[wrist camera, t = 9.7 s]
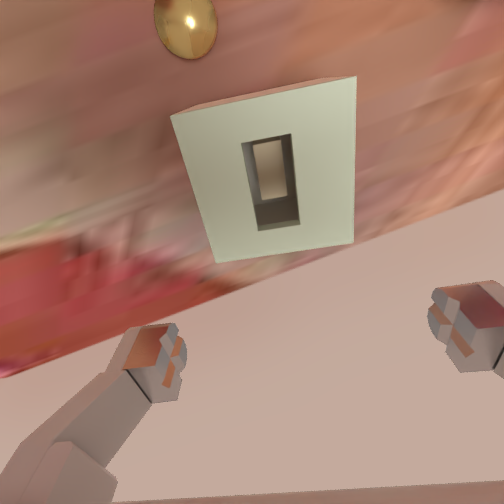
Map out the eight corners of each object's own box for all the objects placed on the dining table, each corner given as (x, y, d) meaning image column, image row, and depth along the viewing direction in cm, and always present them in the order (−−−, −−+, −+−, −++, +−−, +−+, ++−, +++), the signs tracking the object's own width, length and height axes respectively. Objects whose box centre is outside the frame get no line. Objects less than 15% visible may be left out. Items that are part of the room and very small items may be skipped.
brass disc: (150, -9, 22) (144, -14, 21) (209, -23, 22) (206, -30, 20) (170, 64, 25) (166, 63, 23) (223, 53, 24) (222, 51, 23)
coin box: (197, 104, 26) (169, 115, 18) (322, 77, 25) (356, 76, 16) (226, 215, 32) (215, 263, 24) (326, 198, 31) (353, 242, 23)
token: (252, 135, 27) (252, 145, 23) (276, 130, 27) (280, 139, 23) (261, 183, 30) (262, 200, 25) (282, 179, 29) (287, 195, 25)
